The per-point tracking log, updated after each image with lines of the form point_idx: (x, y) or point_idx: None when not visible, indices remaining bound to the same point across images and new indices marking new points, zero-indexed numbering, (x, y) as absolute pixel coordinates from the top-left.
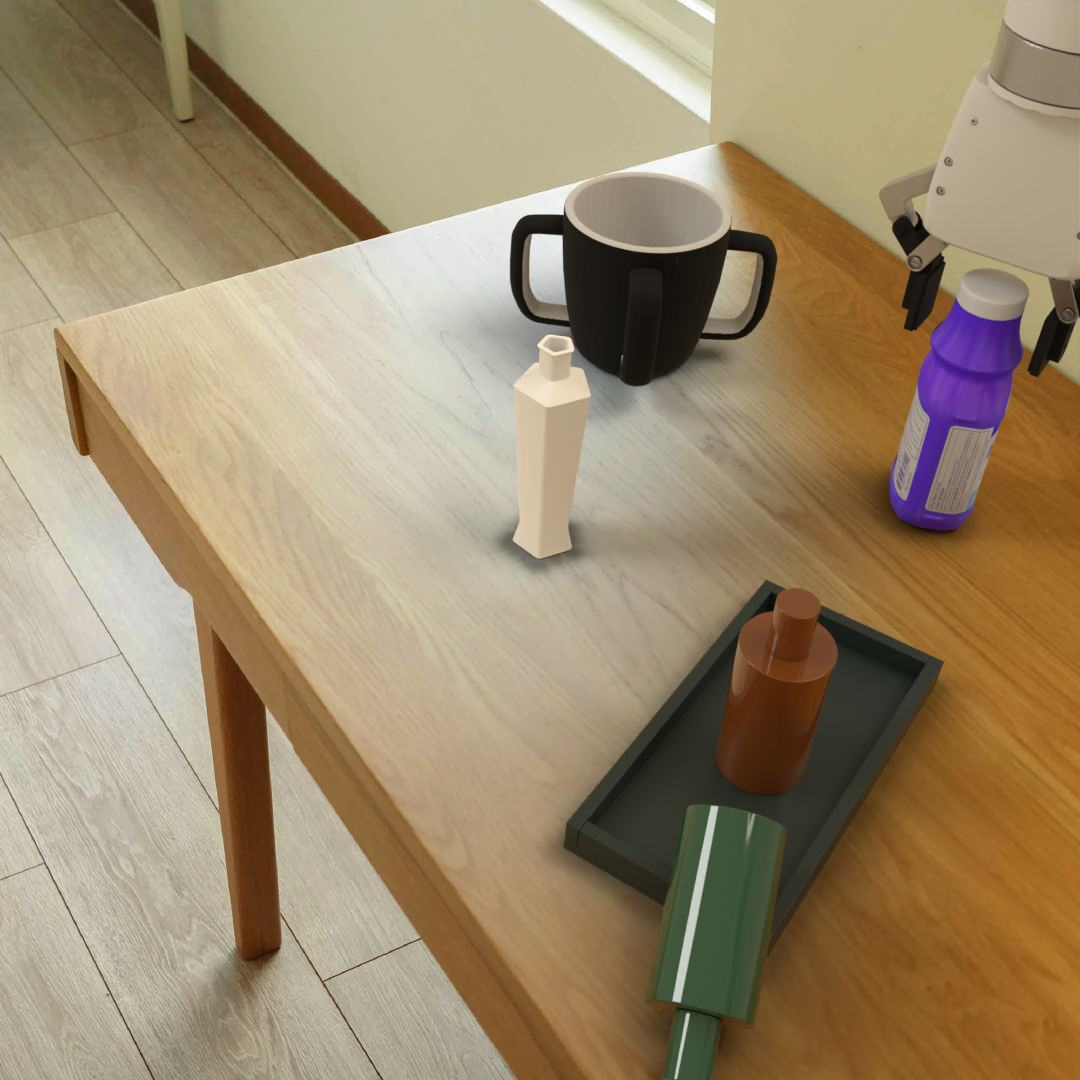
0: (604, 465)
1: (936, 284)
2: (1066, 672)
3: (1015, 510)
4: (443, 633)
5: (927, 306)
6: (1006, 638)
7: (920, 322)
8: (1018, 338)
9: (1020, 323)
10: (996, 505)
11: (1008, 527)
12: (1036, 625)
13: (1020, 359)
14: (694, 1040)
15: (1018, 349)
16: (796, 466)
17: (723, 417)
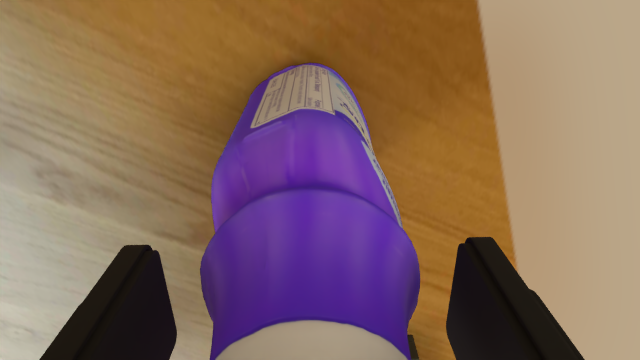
0: (8, 277)
1: (122, 354)
2: (512, 265)
3: (411, 63)
4: None
5: (152, 330)
6: (452, 259)
7: (169, 321)
8: (407, 310)
9: (405, 324)
10: (386, 69)
11: (412, 102)
12: (475, 229)
13: (419, 288)
14: None
15: (412, 301)
16: (151, 156)
17: (16, 125)
